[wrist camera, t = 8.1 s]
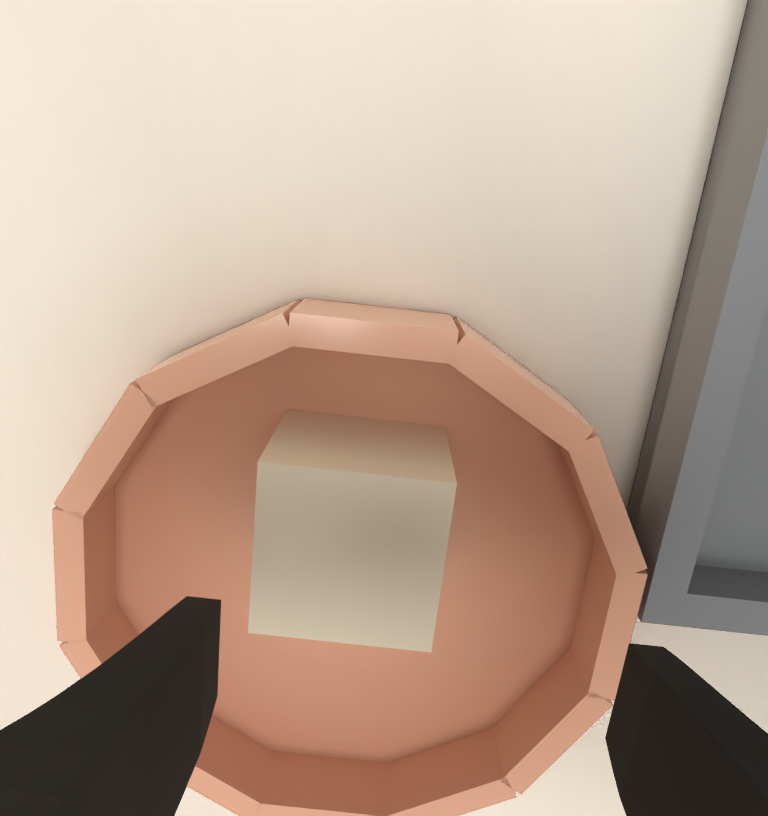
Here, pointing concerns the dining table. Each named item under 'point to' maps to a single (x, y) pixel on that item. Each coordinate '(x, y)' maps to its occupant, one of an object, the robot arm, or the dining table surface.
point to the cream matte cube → (351, 530)
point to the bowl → (349, 663)
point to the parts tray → (716, 386)
